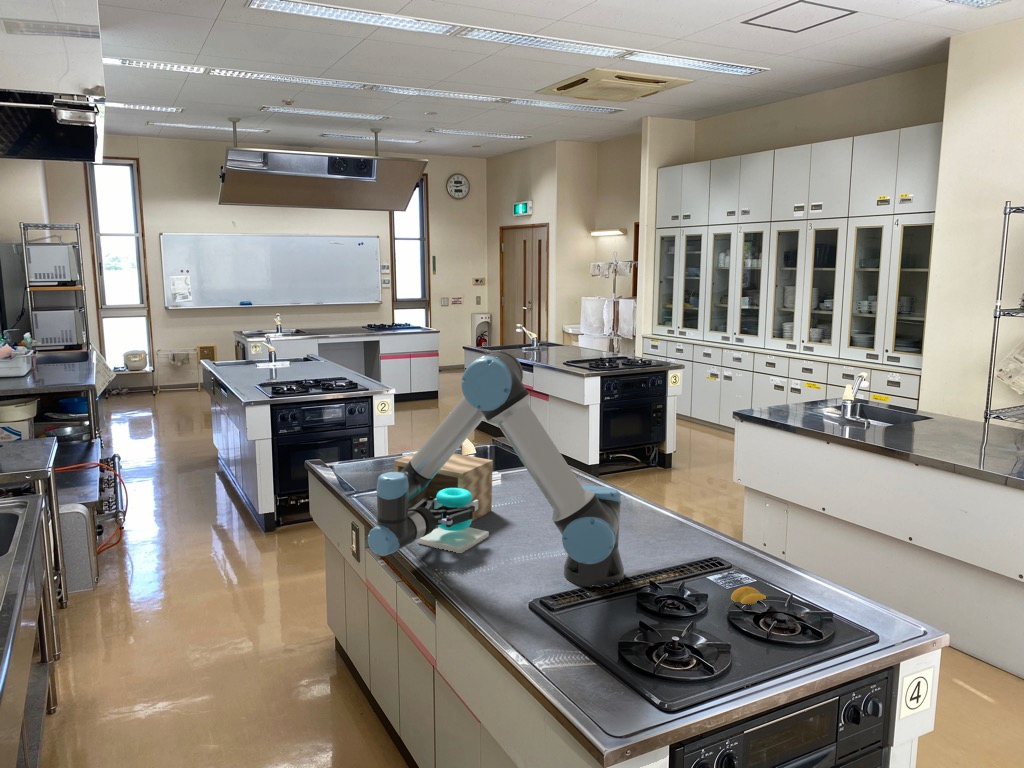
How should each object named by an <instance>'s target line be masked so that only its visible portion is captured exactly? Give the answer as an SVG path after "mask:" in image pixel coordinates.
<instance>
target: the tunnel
mask: <svg viewBox="0 0 1024 768" xmlns="http://www.w3.org/2000/svg"><path fill="white" fill-rule="evenodd" d="M417 452H418V451H416V452H414V453H411V454H408V455H406V456H403V457H400V458H398V459H394V460H393V472H401V471H402V470H403V468H404V467H405V466H406V465H407V464H408V462H409V461H410V460H411V459H412V458H413V457H414V455H415V454H416V453H417ZM493 463H494V461H493V459H488V458H481V457H476V456H470V455H466V454H459V453H456V452H455V453H454V454H453V455H452V456H451V457H450V458H449V460H448V461H447V462H446V463H445V464H444V465H443V467H442V468H441V469H440V470H439V471H438V472H437V474H436V475H435V476H434V477H433V478H432V480H431V481H430V482H429V483H428V485H427V487H426V488H425V489H424V490H423V491H422V492H421V493H420V494H418V495H417V496H416V497H415V498H414V499H413V500H412V501H411V502H410V503H408V509H409V508H411V507H414V506H415V505H416V504H417V503H418V502H420V501H421V500H422V499H427V500H429V497H433V499H436V496H437V493H438V492H439V491H441V490H443V489H446V488H462V489H465V490H468V491H469V492H470V493H471V494H472V500H471V502H472V501H474V500H478V510H476V511H475V512H473V519H471V523H472V522H473V521H476V520H477V519H479V518H481V517H482V516H484V515H486V514H488V513H490V512H492V510H493V509H492V507H493V506H492V504H493V503H492V502H493ZM459 508H464V506H463V507H456V509H459Z"/></svg>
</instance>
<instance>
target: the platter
mask: <svg viewBox="0 0 1024 768" xmlns="http://www.w3.org/2000/svg"><path fill="white" fill-rule="evenodd" d="M489 533H490V532H489V531H487V530H483V529H479V528H474V527H470V526H469V527H468V528H466V529H464V530H459V531H448V530H444V529H441V528H440V527H438V526H437V527H435V528H434V529H433V531H432V532H431V533H429V534H428V535H426V536H424V537H421V538H420V539H418V540H417V544H420V545H424V546H427V547H431V548H434V549H435V548H436V549H438V548H439V549H440V550H442V549H444V550H443V551H446V550H448V552H450V551H453V552H452V553H454V552H456V553H455V554H458V553H461V554H462V553H464V552H466V551H467V550H470V549H471V548H472V547H474V546H476V545H477V544H478V543H481V542H482V541H484V540H485V539H488V538H489V536H490V535H489ZM483 539H484V540H483ZM465 550H466V551H465Z"/></svg>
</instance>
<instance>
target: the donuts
mask: <svg viewBox="0 0 1024 768" xmlns="http://www.w3.org/2000/svg"><path fill="white" fill-rule="evenodd" d="M436 498H437V501H438V502H439V503H440V504H441V505H443V506H442V507H446V508H453V509H457V508H458V507H463V506H465V505H467V504H469V503H470V502H471V500H472V494H471V493H470V492H469V491H468V490H465V489H462V488H446V489H443V490H441V491H439V492H438V493H437V496H436ZM442 518H443V513H442ZM471 524H472V522H471V519H470V520H467V521H464V522H461V523H458V524H455V525H453V526H451V527H446V524H441V525H437V526H436V527H437V528H438V527H440V528H441V529H444V530H448V531H459V530H464V529H466V528H468V527H470V526H471Z"/></svg>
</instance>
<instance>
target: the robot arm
mask: <svg viewBox="0 0 1024 768" xmlns="http://www.w3.org/2000/svg"><path fill="white" fill-rule="evenodd" d="M523 378H524V371H523V367H522V365H521V363H520V361H519V360H518V359H517V357H516V356H514V355H513V354H511V353H510V352H507V351H504V350H503V351H502V350H494V351H492V352H489V353H487V354H484V355H483V356H479V357H478V358H477V359H474V360H473V362H471V363H470V364H469V365H468V366H467V367H466V368H465V370H464V372H463V374H462V378H461V391H462V394H463V395H462V396H463V397H462V398H461V399H460V400H459V401H458V403H457V404H456V405H455V406H454V407H453V408H452V409H451V411H450V412H449V413H448V415H446V417H445V418H444V419H443V420H442V421H441V423H440V424H439V425H438V426H437V428H436V429H435V431H433V433H432V434H431V435H430V436H429V438H428V439H427V440H426V441H425V442H424V443H423V444H422V446H421V447H420V448H419V450H418V451H416V452H417V453H416V452H415V453H416V454H415V455H414V457H413V458H412V459H411V460H410V461H409V462H408V464H407V465H406V466H405V467H404V468H403V470H402V471H401V472H394V471H390V472H389V471H388V472H385V473H381V474H380V475H379V476H378V478H377V481H376V482H377V483H376V484H377V485H376V506H377V507H376V508H377V509H376V510H377V511H376V513H377V515H376V526H374V527H372V528H371V529H370V531H369V533H368V535H367V543H368V546H369V548H370V550H371V552H373V553H374V554H375V555H378V557H379V556H380V557H385V556H386V557H387V556H389V555H391V554H393V553H396V552H398V551H400V550H401V549H403V548H404V547H406V546H409V545H410V544H412V543H413V542H415V541H418V539H420V538H421V537H424V536H426V535H428V534H429V533H431V532H432V531H433V530H434V529H436V527H438V526H437V525H441V524H446V527H451V526H453V525H455V524H458V523H461V522H464V521H467V520H470V519H473V512H475V511H476V510H478V500H474V501H472V502H470V503H469V504H467V505H465V506H464V508H459V509H457V508H453V509H448V510H446V509H440V510H437V509H439V508H441V507H444V506H443V505H441V504H440V503H439V502H438V501H437V498H436V499H433V497H429V499H422V500H421V501H420V502H418V503H417V504H415V505H413V506H411V507H409V508H408V503H410V502H411V501H412V500H413V499H414V498H415V497H416V496H417V495H418V494H420V493H421V492H422V491H423V490H424V489H425V488H426V487H427V485H428V483H429V482H430V481H431V480H432V478H433V477H434V476H435V475H436V474H437V472H438V471H439V470H440V469H441V468H442V467H443V465H444V464H445V463H446V462H447V461H448V460H449V458H450V457H451V456H452V455H453V454H454V453H455V454H456V451H457V450H458V449H459V448H460V447H461V446H462V445H463V444H464V442H465V441H466V440H467V439H468V437H469V436H470V435H471V434H472V433H473V431H474V430H476V428H477V427H478V426H479V425H480V424H481V423H482V421H483V420H484V419H486V421H487V422H488V423H491V424H495V425H497V426H498V427H499V429H500V430H501V432H502V433H503V435H504V437H505V438H506V440H507V441H508V443H509V444H510V446H511V448H512V450H514V452H515V454H516V455H517V456H518V458H519V460H520V461H521V463H522V464H523V466H524V467H525V469H526V470H527V471H528V474H529V475H530V477H531V478H532V479H533V481H534V482H535V484H536V485H537V487H538V488H539V490H540V492H541V493H542V495H543V496H544V498H545V499H546V500H547V502H548V504H549V505H550V508H552V511H553V513H552V516H551V517H552V518H551V520H552V522H553V523H554V525H555V527H556V528H557V529H558V531H559V533H560V534H561V535H562V537H561V542H562V547H563V549H564V551H565V552H566V554H567V556H566V559H565V562H564V565H563V576H564V577H565V578H566V579H567V580H568V581H569V582H570V583H573V584H576V585H578V586H581V587H585V586H592V585H601V584H609V583H613V582H618V581H620V580H622V579H623V580H624V575H625V570H624V564H623V561H622V557H621V554H620V549H619V539H620V538H619V537H620V523H621V522H620V517H621V505H622V497H621V495H622V494H621V492H620V491H619V490H617V489H615V488H612V487H609V486H608V487H607V486H601V485H600V486H599V485H582V484H581V483H580V481H579V479H578V478H577V476H576V475H575V473H574V472H573V471H572V469H571V468H570V465H568V463H567V460H565V458H564V457H563V455H562V453H561V452H560V450H559V449H558V447H557V446H556V444H555V442H554V441H553V440H552V438H551V436H550V435H549V434H548V432H547V430H546V429H545V428H544V426H543V424H542V423H541V422H540V421H539V418H538V417H537V415H536V414H535V412H534V411H533V409H532V408H531V406H530V404H529V401H530V395H531V394H530V392H529V390H527V388H526V386H525V385H524V384H523ZM442 513H443V518H442ZM623 580H622V581H623Z"/></svg>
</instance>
